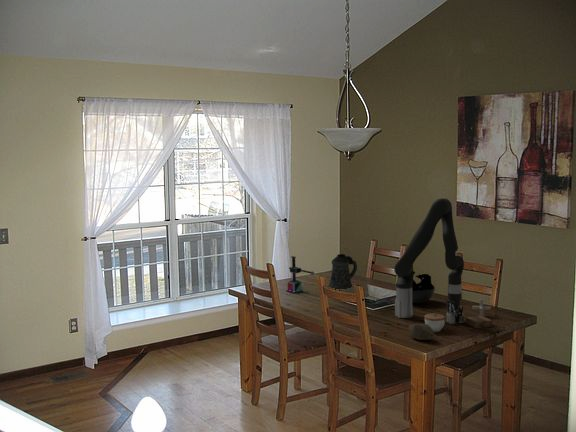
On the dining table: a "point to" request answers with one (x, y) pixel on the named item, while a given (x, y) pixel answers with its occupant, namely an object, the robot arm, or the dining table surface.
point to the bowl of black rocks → (422, 289)
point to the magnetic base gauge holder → (295, 284)
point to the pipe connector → (481, 307)
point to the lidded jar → (435, 321)
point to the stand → (478, 322)
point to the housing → (453, 317)
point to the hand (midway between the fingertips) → (454, 321)
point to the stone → (421, 331)
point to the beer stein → (342, 272)
